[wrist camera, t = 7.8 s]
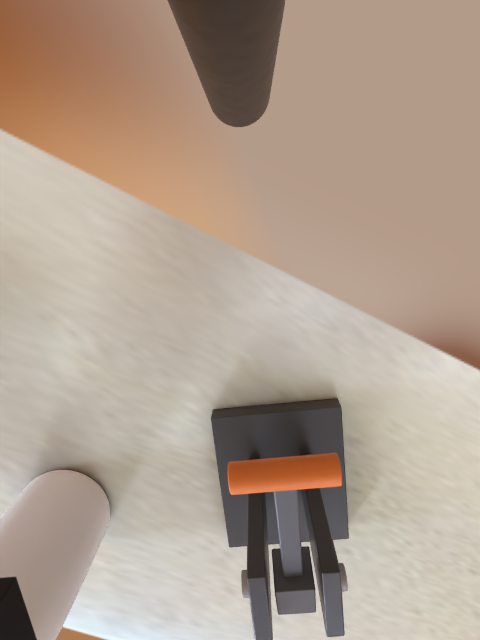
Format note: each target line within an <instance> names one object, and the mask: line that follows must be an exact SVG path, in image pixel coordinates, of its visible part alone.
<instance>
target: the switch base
mask: <svg viewBox="0 0 480 640" xmlns="http://www.w3.org/2000/svg"><path fill="white" fill-rule="evenodd" d="M211 422H212V429H213V436H214V443H215V450H216V457H217V464H218V471H219V479H220V486H221V493H222V500H223V507H224V514H225V521H226V528H227V535H228V542H229V547H241V546H247V570H242V574H241V581H242V594H243V598H250V605H251V613H252V621H253V628H254V636H255V640H272V639H273V633H272V613H271V592H270V572H269V551H268V544H280V542H279V533H278V525H277V516H276V507H275V499H274V492H263V493H250V494H238V495H231V494H230V491H229V485H228V463H229V462H231V461H243V460H255V459H267V458H279V457H291V456H303V455H315V454H327V453H337V454H338V457H339V461H340V465H341V472H342V486H338V487H326V488H313V489H301V490H298V502H299V518H300V533H301V542H309V541H310V544H311V550H312V555H313V561H314V567H315V572H316V578H317V584H318V590H319V595H320V601H321V607H322V612H323V618H324V624H325V630H326V635H327V637H335V636H344V618H343V603H342V591H347V590H348V585H347V577H346V572H345V567H344V564H343V563H338V560H337V556H336V551H335V547H334V543H333V540H336V539H348V538H349V533H348V515H347V498H346V480H345V463H344V446H343V428H342V411H341V405H340V403H339V401H338V399H326V400H315V401H304V402H293V403H282V404H271V405H260V406H249V407H238V408H227V409H216V410H213V411H212V416H211Z"/></svg>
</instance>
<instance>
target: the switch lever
mask: <svg viewBox="0 0 480 640" xmlns="http://www.w3.org/2000/svg"><path fill="white" fill-rule="evenodd" d="M228 485H229V491H230V494H231V495H238V494H250V493H263V492H274V499H275V507H276V516H277V525H278V533H279V542H280V549H272V560H273V574H274V587H275V596H276V603H277V610H278V614H279V615H282V614H298V613H313V612H316V600H315V585H314V578H313V571H312V564H311V557H310V551H309V547H301V533H300V518H299V502H298V490H301V489H313V488H326V487H338V486H342V472H341V465H340V461H339V457H338V454H337V453H327V454H315V455H303V456H291V457H279V458H267V459H255V460H243V461H231V462H229V463H228Z"/></svg>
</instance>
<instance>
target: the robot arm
mask: <svg viewBox="0 0 480 640" xmlns="http://www.w3.org/2000/svg"><path fill="white" fill-rule="evenodd" d="M0 640H37V638H36V635H35V632H34V629H33V626H32V623H31V620H30V617H29V614H28V611H27V608H26V605H25V602H24V599H23V596H22V593H21V590H20V587H19V584H18V581H17V578H16V577H4V578H0Z"/></svg>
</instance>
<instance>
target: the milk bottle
mask: <svg viewBox="0 0 480 640" xmlns="http://www.w3.org/2000/svg"><path fill="white" fill-rule="evenodd" d="M109 521H110V507H109V501H108V499H107V496H106V494H105V493H104V491H103V490H102V488H101V487H100V486H99V485H98V484H97V483H96V482H95V481H94V480H92V479H91V478H90V477H88V476H86V475H84V474H82V473H79V472H75V471H71V470H55V471H50V472H47V473H44V474H42V475H40V476H38V477H36V478H35V479H34V480H32V481H31V482H30V483H29V484H28V485H27V487H26V488H25V489H24V490H23V491H22V492H21V493H20V495H19V496H18V497H17V498H16V500H15V501H14V502H13V503H12V504H11V506H10V507H9V508H8V509H7V511H6V512H5V513H4V514H3V516H2V517H1V518H0V578H4V577H16V578H17V581H18V584H19V587H20V590H21V593H22V596H23V599H24V602H25V605H26V608H27V611H28V614H29V617H30V620H31V623H32V626H33V629H34V632H35V635H36V638H37V640H55V639H56V638H57V636H58V634H59V632H60V630H61V628H62V626H63V624H64V622H65V620H66V618H67V615H68V613H69V611H70V609H71V607H72V605H73V603H74V600H75V598H76V596H77V594H78V592H79V590H80V587H81V585H82V583H83V581H84V579H85V577H86V574H87V572H88V570H89V568H90V566H91V563H92V561H93V559H94V557H95V555H96V552H97V550H98V548H99V546H100V543H101V541H102V539H103V537H104V534H105V532H106V529H107V527H108V524H109Z"/></svg>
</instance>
